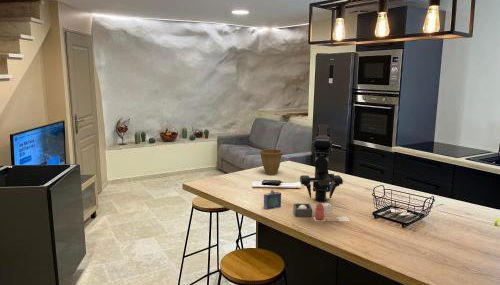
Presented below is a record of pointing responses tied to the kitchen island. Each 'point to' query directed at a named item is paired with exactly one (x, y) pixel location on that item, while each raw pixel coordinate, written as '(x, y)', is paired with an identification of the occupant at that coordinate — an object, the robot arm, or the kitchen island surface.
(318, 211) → the pawn
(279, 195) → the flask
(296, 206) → the button housing
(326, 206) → the beige cube
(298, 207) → the dome
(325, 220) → the board
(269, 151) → the plant pot
